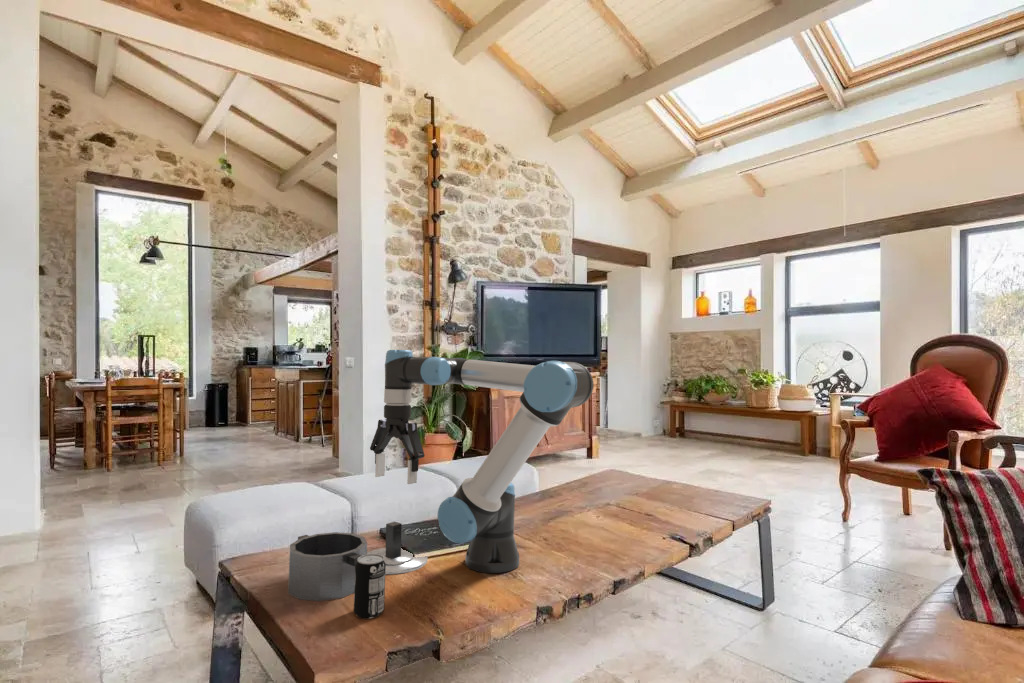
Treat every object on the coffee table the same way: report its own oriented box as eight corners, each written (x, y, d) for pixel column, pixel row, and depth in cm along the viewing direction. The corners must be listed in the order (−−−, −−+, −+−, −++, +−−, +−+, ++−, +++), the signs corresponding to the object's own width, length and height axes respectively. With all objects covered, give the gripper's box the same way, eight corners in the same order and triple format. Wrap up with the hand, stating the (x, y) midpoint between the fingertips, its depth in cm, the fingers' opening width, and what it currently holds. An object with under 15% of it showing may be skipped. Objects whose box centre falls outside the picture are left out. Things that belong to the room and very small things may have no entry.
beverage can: (356, 606, 123) (358, 553, 124) (386, 606, 124) (387, 553, 124) (350, 620, 117) (352, 564, 117) (381, 619, 117) (383, 563, 118)
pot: (387, 586, 135) (388, 545, 135) (323, 611, 121) (325, 566, 121) (330, 562, 149) (331, 526, 150) (267, 583, 135) (269, 542, 135)
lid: (441, 560, 154) (442, 522, 154) (389, 581, 138) (390, 539, 139) (396, 545, 165) (396, 510, 165) (343, 564, 150) (344, 525, 150)
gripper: (438, 406, 149) (436, 484, 148) (379, 400, 164) (377, 471, 163) (418, 407, 143) (416, 488, 142) (359, 402, 158) (356, 475, 157)
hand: (395, 479), depth 153 cm, fingers open, 13 cm apart
